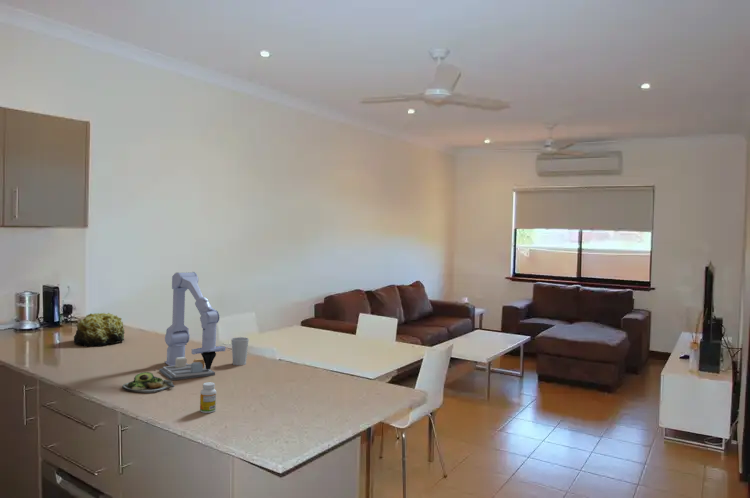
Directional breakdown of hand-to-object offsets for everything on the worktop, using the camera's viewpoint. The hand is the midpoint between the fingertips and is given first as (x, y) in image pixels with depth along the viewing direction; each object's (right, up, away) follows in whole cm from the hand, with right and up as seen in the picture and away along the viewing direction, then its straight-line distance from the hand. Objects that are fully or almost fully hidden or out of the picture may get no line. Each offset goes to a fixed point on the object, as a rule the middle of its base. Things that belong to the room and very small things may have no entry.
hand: (208, 368), depth 245 cm
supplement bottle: (+14, -5, -47) cm, 50 cm away
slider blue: (-4, -1, -3) cm, 5 cm away
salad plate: (-18, -3, -21) cm, 28 cm away
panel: (-10, -2, +1) cm, 10 cm away
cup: (+8, -3, +22) cm, 24 cm away
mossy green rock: (-76, +2, +56) cm, 95 cm away
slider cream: (-14, -1, +5) cm, 14 cm away
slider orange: (-5, -1, +4) cm, 6 cm away
